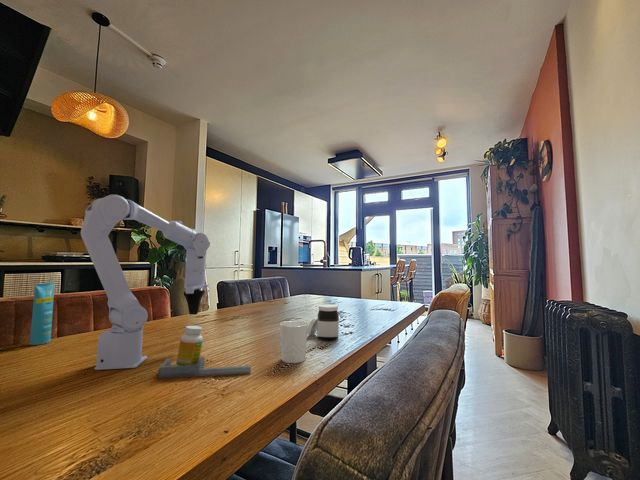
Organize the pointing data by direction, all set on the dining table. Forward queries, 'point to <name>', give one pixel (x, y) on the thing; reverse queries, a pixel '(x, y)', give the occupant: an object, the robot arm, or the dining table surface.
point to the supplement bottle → (190, 346)
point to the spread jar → (325, 323)
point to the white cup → (293, 341)
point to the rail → (197, 370)
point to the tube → (42, 314)
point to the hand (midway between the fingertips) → (193, 314)
